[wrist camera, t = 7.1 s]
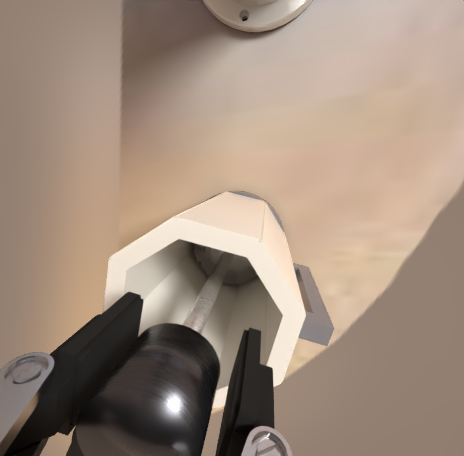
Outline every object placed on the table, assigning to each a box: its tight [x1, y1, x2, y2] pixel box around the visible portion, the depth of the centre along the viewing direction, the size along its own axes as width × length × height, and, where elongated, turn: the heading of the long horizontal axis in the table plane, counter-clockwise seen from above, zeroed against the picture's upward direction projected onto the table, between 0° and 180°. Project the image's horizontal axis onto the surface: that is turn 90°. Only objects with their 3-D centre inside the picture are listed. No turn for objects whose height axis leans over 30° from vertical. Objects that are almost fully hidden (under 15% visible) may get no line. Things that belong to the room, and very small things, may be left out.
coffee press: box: [103, 191, 334, 408], centre depth 20 cm, size 11×13×16 cm
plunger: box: [76, 243, 258, 456], centre depth 16 cm, size 7×7×18 cm
